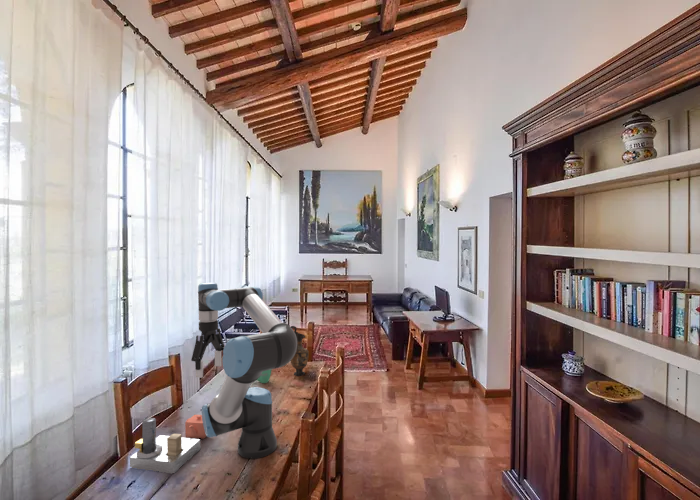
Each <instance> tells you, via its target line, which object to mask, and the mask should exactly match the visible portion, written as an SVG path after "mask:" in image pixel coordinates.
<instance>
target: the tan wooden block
mask: <svg viewBox="0 0 700 500" xmlns="http://www.w3.org/2000/svg"><path fill="white" fill-rule="evenodd" d="M168 436H169V437H168V438H167V456H175V457H176V456H178V455H179V454H180V453H181V452H182V434H181V433H172V434H170V435H168Z"/></svg>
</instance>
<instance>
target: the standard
mask: <svg viewBox="0 0 700 500" xmlns="http://www.w3.org/2000/svg"><path fill="white" fill-rule="evenodd" d="M141 425H142V438H140V439H138V440H137V441H135V443H134V448H135V449H137V450H138V451H136V452H137V458H139V459H149V458H153V457H155V456H157V455H159V454H160V453H161V452H162V446H161V445H157V444H156V438H157V418H155V417H149V418H145V419H144V420H142V424H141Z"/></svg>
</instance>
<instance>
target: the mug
mask: <svg viewBox="0 0 700 500" xmlns="http://www.w3.org/2000/svg"><path fill="white" fill-rule="evenodd" d="M272 370H273V369H271V370H267V371H263V372H262V374H261V376H260V377H259V378H258V379H257V380H256V381H257V382H259V383H261V384H267V383H269V382H270V379H271V376H272Z"/></svg>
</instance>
